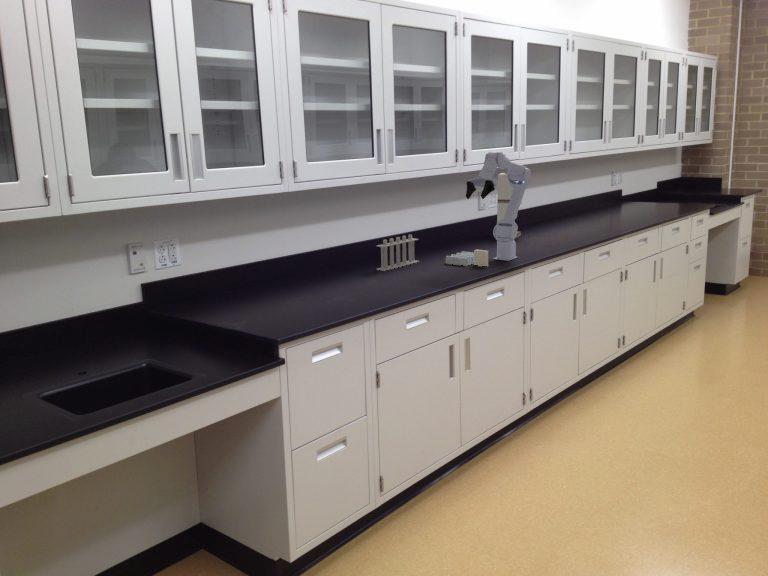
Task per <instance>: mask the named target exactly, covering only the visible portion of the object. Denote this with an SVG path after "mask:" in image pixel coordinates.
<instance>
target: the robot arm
mask: <svg viewBox="0 0 768 576" xmlns="http://www.w3.org/2000/svg"><path fill="white" fill-rule="evenodd" d="M498 168H499V169H501V170H507V172H506V174H507V178H508V181H509V184H510V187H511V188H513V189H514V190H513V193H512V196H511V199H510V202H509V204H508V207H507V210H506V213H505V216H504V218H503V219H502V220H500V221H498V222H497V221H496V225H495V226H494V228H493V231H492V233H493V237H494V238H495V240H496V257H493V258H492V259H493V260H499V261H507V262H509V261H512V260H514V259H515V260H516V259H517V258H518V256H516V254H517V243H516V241H515V239H517V238H516V236H517V231H518V229H519V226H518V224H517V223H516V221H515V220H516V219H517V218H516V215H517V216H518V212H519V209H520V206H521V205H522V204H521V201H522V200H523V197H524V195H525V191H526V189H528V188H529V186H530V182H531V180H532V172H531V169H530V168H529V167H527V166H525V165H522V164H519V163H517V162H514V161H510V158H509V157H507V156H506V154H504V153H503V152H502V151H489V152H488V153H486V154H485V156H484V161H483V166H482V168H481V169H480V172H479V173H478V174H477V176H476V177H474V178H471V179H468V180H467V181H466V183H465V184H466V193H465V197H466V199H467V200H469V199H470V198H471V196H472V195H473V193H475V192H476V191H477V188H476V187H481V188H483V189H482V191H481V193H480V197H481V199H482V200H484V199H485V198H486V197H487V196H488V195H490V194H491V193H492V192H493V191H495V187H498V179H494V178H493V177H494V175H495V173H496V171H497V169H498ZM515 218H516V219H515Z"/></svg>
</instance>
